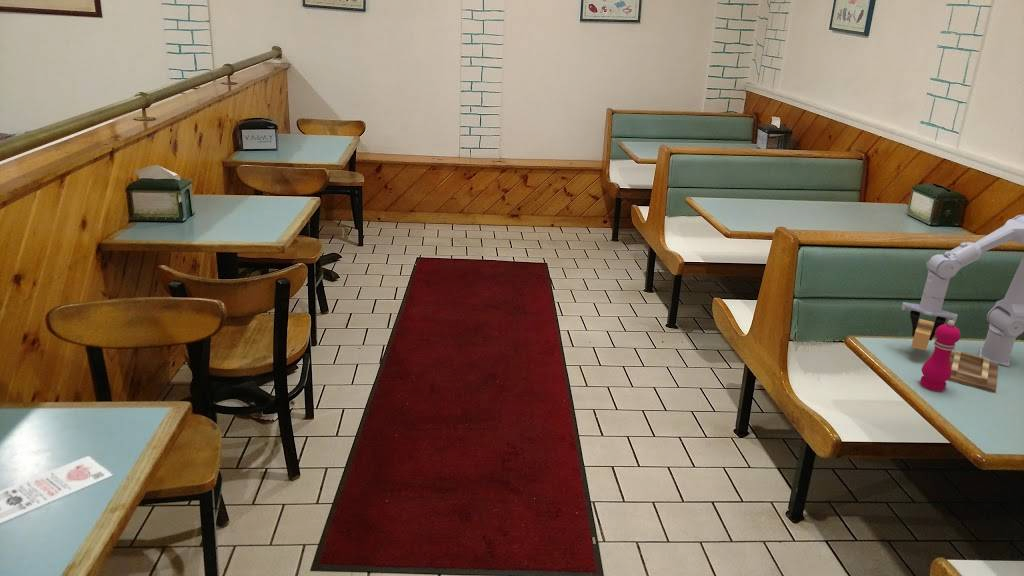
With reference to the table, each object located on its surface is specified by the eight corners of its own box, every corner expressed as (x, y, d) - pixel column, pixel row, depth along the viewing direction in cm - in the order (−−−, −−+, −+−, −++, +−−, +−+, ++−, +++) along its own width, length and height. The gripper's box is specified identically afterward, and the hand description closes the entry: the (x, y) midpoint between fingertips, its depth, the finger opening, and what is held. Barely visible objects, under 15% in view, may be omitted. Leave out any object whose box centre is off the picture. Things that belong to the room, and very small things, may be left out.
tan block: (915, 333, 234) (919, 318, 232) (930, 337, 232) (934, 322, 230) (911, 346, 225) (915, 331, 223) (925, 350, 223) (930, 335, 221)
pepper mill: (951, 388, 210) (972, 322, 203) (938, 394, 207) (958, 327, 199) (926, 377, 216) (945, 313, 209) (912, 383, 212) (931, 317, 205)
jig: (944, 353, 232) (946, 345, 231) (997, 366, 225) (999, 359, 225) (938, 377, 216) (940, 369, 215) (994, 392, 210) (997, 384, 209)
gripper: (905, 293, 223) (894, 334, 228) (960, 305, 216) (947, 348, 221) (908, 286, 229) (897, 327, 234) (962, 298, 222) (949, 340, 227)
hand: (922, 337), depth 228 cm, fingers closed on tan block, 4 cm apart
